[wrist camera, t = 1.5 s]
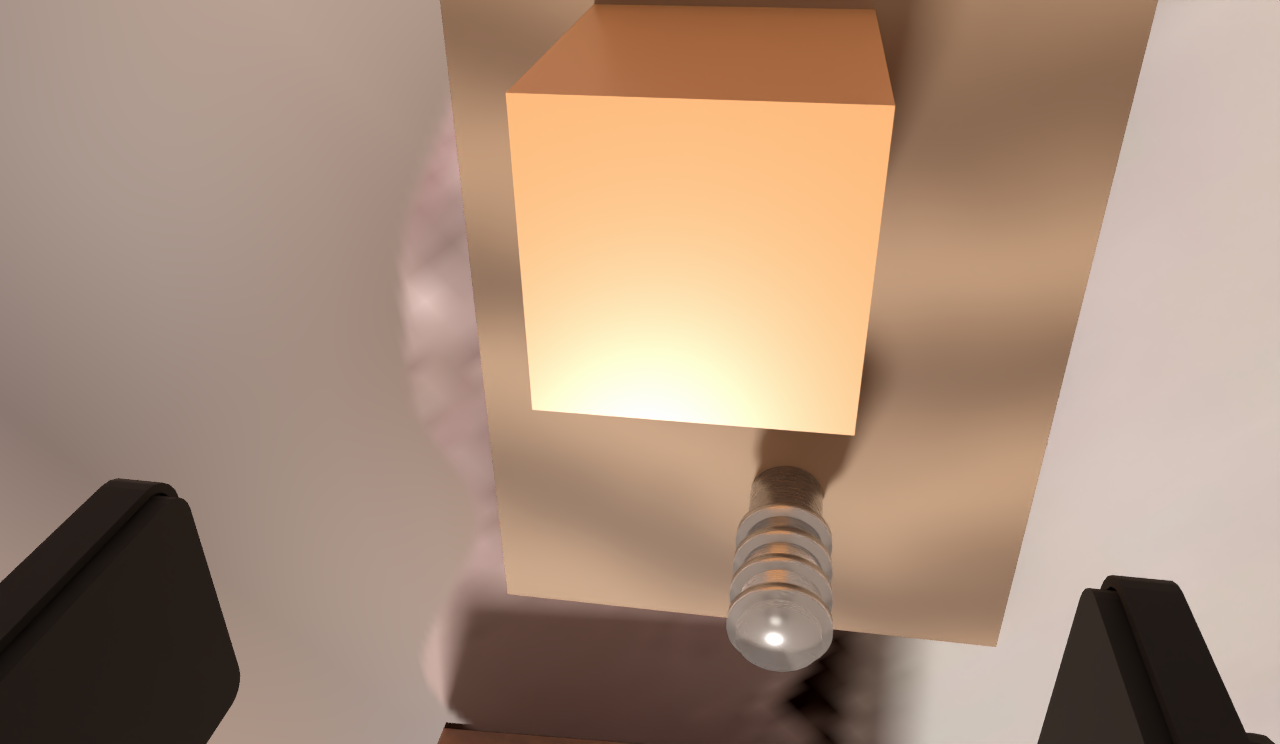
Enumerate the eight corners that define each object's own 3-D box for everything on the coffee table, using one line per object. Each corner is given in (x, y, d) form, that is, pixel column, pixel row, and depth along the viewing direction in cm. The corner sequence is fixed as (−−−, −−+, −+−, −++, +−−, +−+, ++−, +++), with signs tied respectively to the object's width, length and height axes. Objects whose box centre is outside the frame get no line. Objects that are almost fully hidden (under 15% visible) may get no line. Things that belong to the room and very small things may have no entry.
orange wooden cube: (594, 4, 21) (505, 93, 15) (875, 9, 20) (895, 106, 15) (602, 255, 24) (531, 409, 19) (846, 270, 24) (854, 435, 18)
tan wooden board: (446, -104, 22) (429, -98, 21) (1163, -102, 20) (1181, -95, 19) (517, 568, 32) (507, 594, 31) (990, 617, 30) (995, 647, 29)
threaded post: (743, 454, 27) (726, 596, 22) (835, 462, 27) (838, 608, 22) (739, 524, 28) (722, 672, 24) (827, 533, 28) (828, 684, 23)
